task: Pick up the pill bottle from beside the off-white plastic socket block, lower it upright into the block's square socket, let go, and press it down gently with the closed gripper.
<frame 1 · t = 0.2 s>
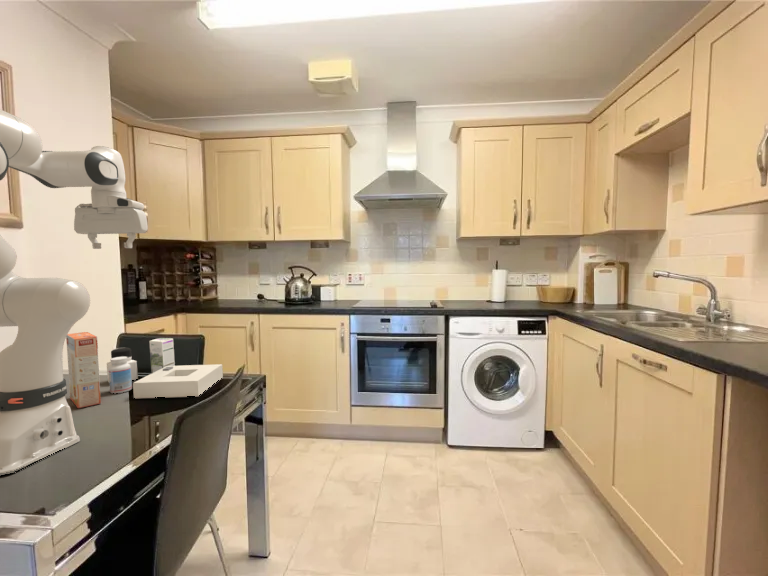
hand: (112, 248, 117), 47 cm above the table, tool pointing down, fingers open, 8 cm apart
socket block: (181, 387, 129), on the table
medicine bottle: (123, 381, 138), on the table
syrup box: (163, 377, 142), on the table
pill bottle: (121, 391, 126), on the table
cracker box: (85, 401, 117), on the table
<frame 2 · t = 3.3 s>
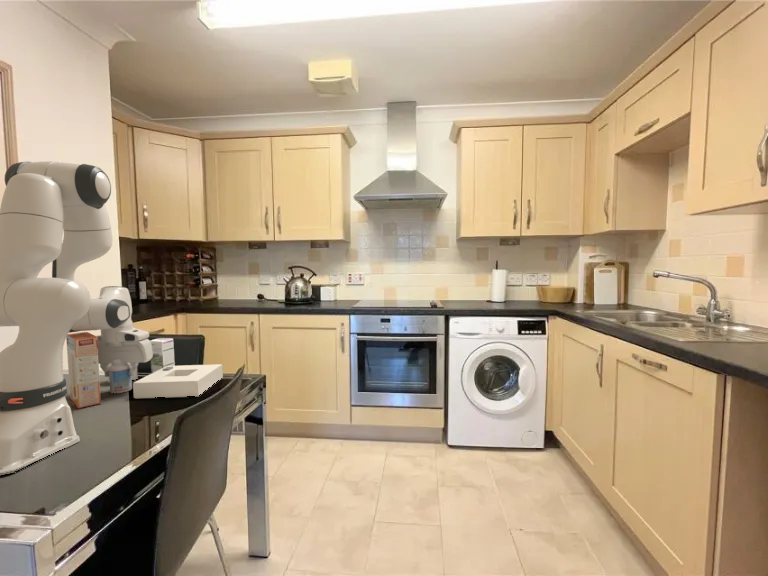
hand: (120, 375, 126), 5 cm above the table, tool pointing down, fingers closed on pill bottle, 6 cm apart
pill bottle: (121, 391, 126), on the table, touching gripper
everything else where it was.
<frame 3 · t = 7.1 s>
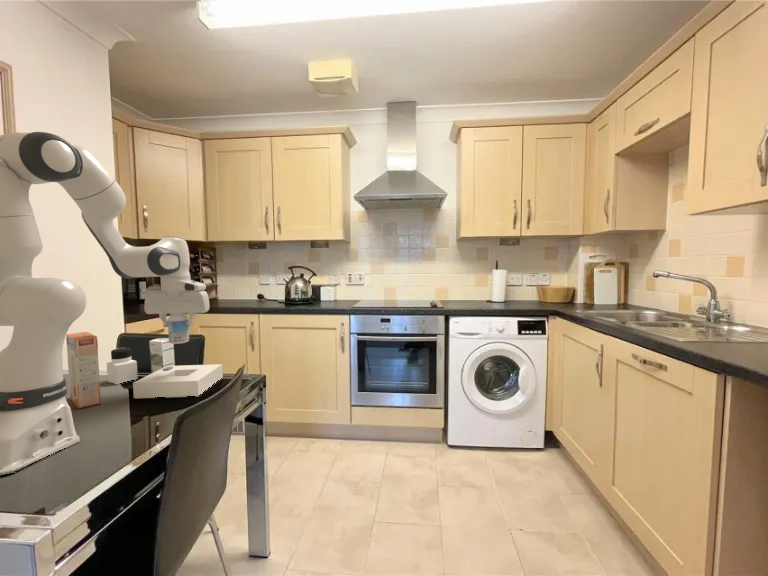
hand: (178, 326, 128), 21 cm above the table, tool pointing down, fingers closed on pill bottle, 6 cm apart
pill bottle: (179, 342, 128), point 15 cm above the table, touching gripper
everything else where it was.
when the fingers open (6 cm above the table, at t = 10.8 s): pill bottle stays where it is, resting in socket block.
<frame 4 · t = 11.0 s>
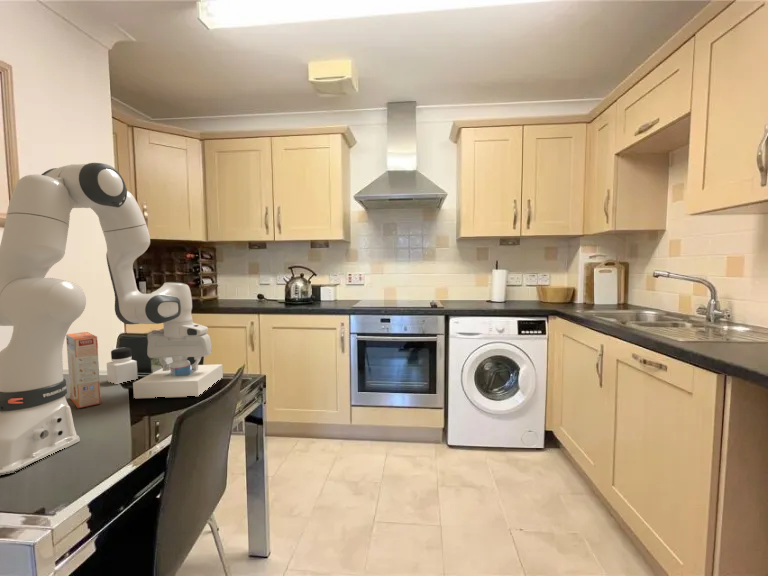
hand: (180, 369, 129), 6 cm above the table, tool pointing down, fingers open, 8 cm apart
pill bottle: (181, 387, 129), resting in socket block
everything else where it was.
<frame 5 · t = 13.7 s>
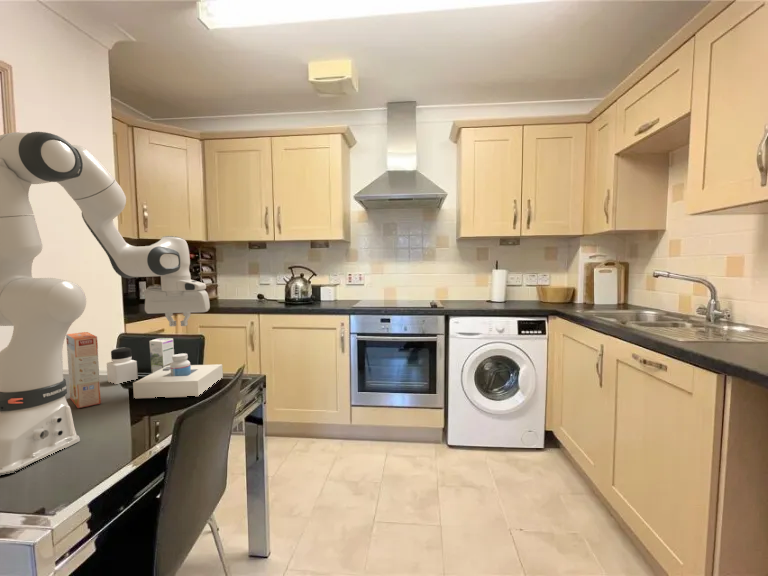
hand: (178, 326, 128), 21 cm above the table, tool pointing down, fingers closed
nothing on the table moved.
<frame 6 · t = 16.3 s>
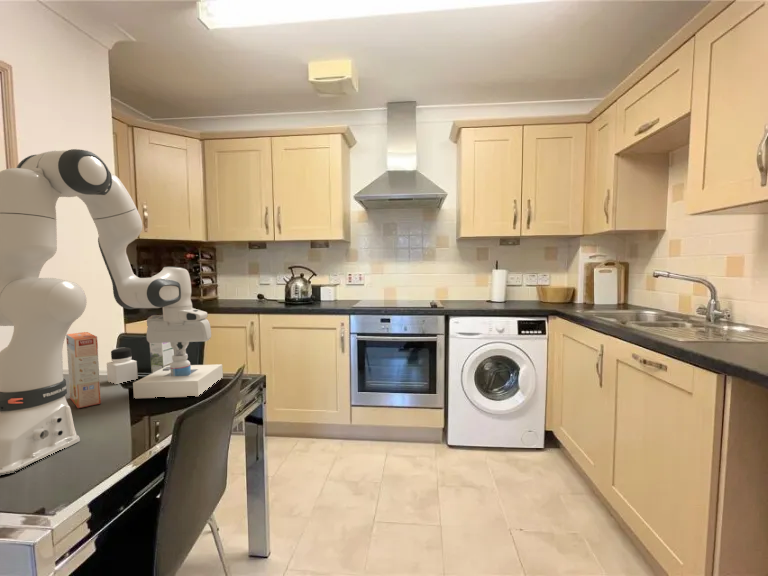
hand: (180, 354, 129), 11 cm above the table, tool pointing down, fingers closed, pressing on pill bottle
pill bottle: (181, 387, 129), resting in socket block, touching gripper
everything else where it was.
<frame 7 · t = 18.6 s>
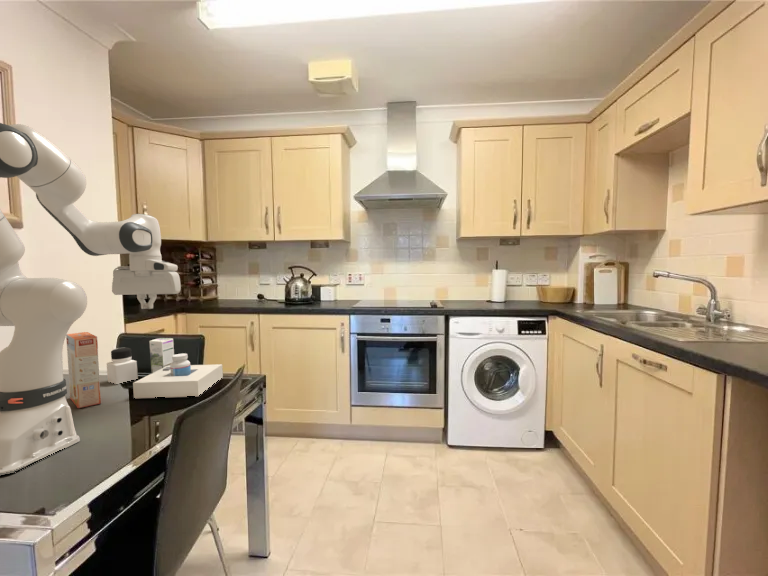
hand: (147, 308, 122), 28 cm above the table, tool pointing down, fingers closed
pill bottle: (181, 387, 129), resting in socket block
everything else where it was.
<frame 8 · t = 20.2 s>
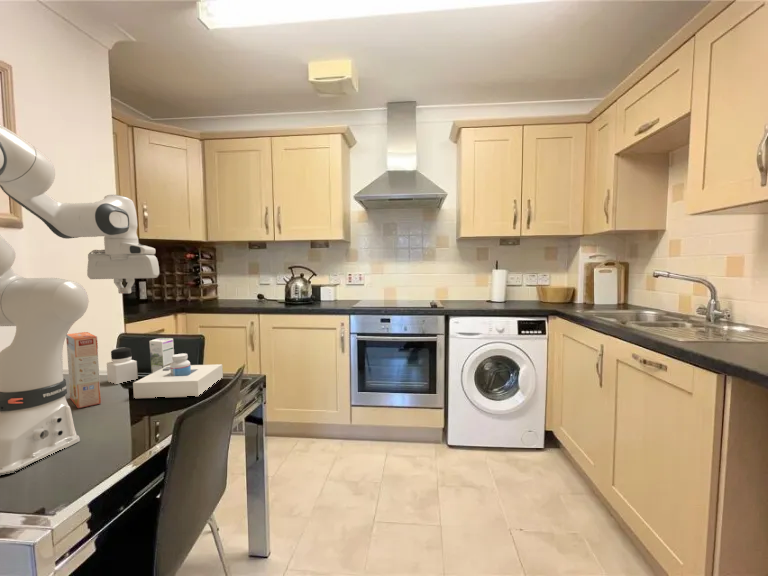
hand: (125, 293, 119), 33 cm above the table, tool pointing down, fingers closed
nothing on the table moved.
at the end: pill bottle 0.1 cm off-centre on the socket block, point 0.0 cm above the socket block's base; pill bottle tilted 0°; the gripper is holding nothing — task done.
